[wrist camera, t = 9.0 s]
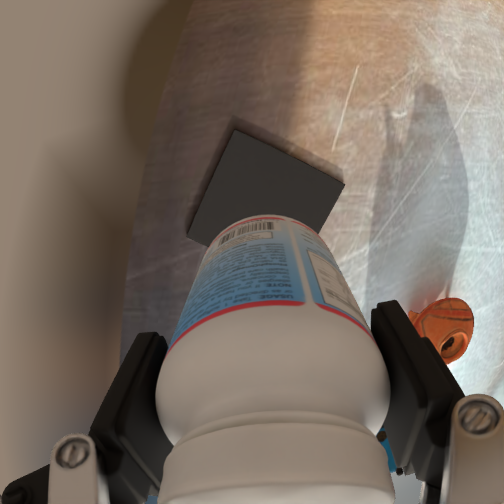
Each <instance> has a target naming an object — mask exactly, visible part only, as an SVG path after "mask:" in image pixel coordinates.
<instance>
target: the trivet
mask: <svg viewBox="0 0 504 504" xmlns="http://www.w3.org/2000/svg"><path fill="white" fill-rule="evenodd" d="M344 186H345V184H343V183H342V182H340V181H338V180H336V179H334V178H332V177H331V176H329V175H327V174H325V173H323V172H321V171H319V170H317V169H316V168H314V167H312V166H310V165H308V164H306V163H304V162H302V161H300V160H298V159H296V158H294V157H292V156H290V155H288V154H286V153H284V152H282V151H280V150H278V149H276V148H274V147H272V146H270V145H268V144H266V143H264V142H261V141H259V140H257V139H255V138H253V137H251V136H249V135H246V134H244V133H242V132H240V131H238V130H234V132H233V134H232V136H231V138H230V140H229V142H228V145H227V147H226V149H225V151H224V153H223V155H222V157H221V159H220V162H219V164H218V166H217V168H216V170H215V172H214V175H213V177H212V179H211V181H210V184H209V186H208V188H207V190H206V193H205V195H204V197H203V199H202V202H201V204H200V206H199V208H198V211H197V213H196V215H195V218H194V220H193V222H192V225H191V227H190V230H189V232H188V234H187V238H189V239H192V240H194V241H196V242H198V243H200V244H203V245H205V246H207V247H209V246H210V245H211V243H212V242H213V241H214V239H215V238H216V237H217V236H218V235H219V234H220V233H221V232H222V231H223V230H225V229H226V228H227V227H229V226H230V225H232V224H234V223H236V222H238V221H240V220H243V219H245V218H248V217H252V216H258V215H279V216H284V217H288V218H292V219H295V220H297V221H299V222H301V223H303V224H305V225H307V226H308V227H309V228H311V229H312V230H313V231H315V232H316V233H317V234H318V233H319V232H320V230H321V228H322V226H323V225H324V223H325V221H326V219H327V217H328V216H329V214H330V212H331V210H332V208H333V207H334V205H335V203H336V201H337V199H338V197H339V196H340V194H341V192H342V190H343V188H344Z"/></svg>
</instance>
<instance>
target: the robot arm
mask: <svg viewBox="0 0 504 504" xmlns="http://www.w3.org/2000/svg"><path fill="white" fill-rule="evenodd" d="M371 333H372V335H373V337H374V339H375V341H376V343H377V346H378V348H379V350H380V352H381V354H382V357H383V360H384V362H385V365H386V368H387V370H388V374H389V379H390V387H391V395H390V403H389V408H388V412H387V415H386V418H385V420H384V422H383V426H384V429H385V432H386V435H387V438H388V442H389V445H390V448H391V451H392V455H393V458H394V461H395V464H396V467H397V468H401V467H403V470H404V473H405V475H409V474H412V473H415V475H416V478H417V479H418V480H421V481H422V487H421V493H420V499H419V504H504V410H503V407H502V406H501V404H500V403H499V402H498V401H497V400H496V399H494V398H493V397H491V396H488V395H485V394H472V395H468V396H466V397H465V395H464V393H463V391H462V390H461V388H460V386H459V385H458V383H457V381H456V380H455V378H454V376H453V375H452V373H451V372H450V370H449V368H448V367H447V365H446V364H445V362H444V360H443V359H442V357H441V356H440V354H439V352H438V351H437V349H436V348H435V346H434V345H433V343H432V342H431V340H430V339H429V338H428V337H426V336H425V337H421V336H420V335H419V333H418V332H417V330H416V329H415V327H414V326H413V324H412V322H411V321H410V319H409V318H408V316H407V315H406V313H405V312H404V310H403V309H402V307H401V306H400V304H399V303H398V301H397V300H391V301H386V302H381V303H378V304H377V308H375V309H372V311H371ZM167 350H168V346H167V343H166V340H165V338H164V337H163V336H159V334H158V333H157V332H145V333H139V334H138V335H137V337H136V338H135V340H134V342H133V344H132V346H131V348H130V350H129V352H128V353H127V355H126V357H125V359H124V361H123V363H122V365H121V367H120V369H119V371H118V373H117V375H116V377H115V378H114V381H113V383H112V385H111V386H110V389H109V390H108V393H107V395H106V396H105V399H104V400H103V402H102V404H101V406H100V409H99V411H98V413H97V415H96V417H95V419H94V421H93V423H92V425H91V427H90V432H89V434H88V435H86V434H82V433H73V434H70V435H67V436H65V437H63V438H62V439H60V440H59V441H58V442H57V443H56V444H55V446H54V448H53V449H52V453H51V460H50V464H48V465H46V466H44V467H42V468H40V469H38V470H36V471H34V472H32V473H30V474H28V475H26V476H23V477H21V478H19V479H17V480H15V481H13V482H11V483H10V484H9V485H8V486H7V487H6V488H5V490H4V492H3V494H2V496H1V495H0V504H145V502H146V501H147V498H148V495H152V496H158V495H159V491H160V486H161V482H162V478H163V467H164V463H165V460H166V458H167V456H168V455H169V454H170V453H171V452H172V449H173V447H174V445H173V444H172V443H171V442H170V440H169V439H168V437H167V436H166V434H165V432H164V430H163V428H162V426H161V423H160V421H159V417H158V414H157V410H156V399H155V393H156V386H157V381H158V377H159V373H160V370H161V366H162V364H163V361H164V359H165V356H166V353H167Z"/></svg>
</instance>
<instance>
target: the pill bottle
mask: <svg viewBox="0 0 504 504" xmlns="http://www.w3.org/2000/svg"><path fill="white" fill-rule="evenodd" d="M390 395H391V387H390V379H389V374H388V370H387V368H386V365H385V362H384V360H383V357H382V354H381V352H380V350H379V348H378V346H377V343H376V341H375V339H374V337H373V335H372V333H371V331H370V329H369V327H368V325H367V323H366V321H365V319H364V316H363V314H362V312H361V310H360V308H359V306H358V304H357V302H356V300H355V298H354V296H353V294H352V292H351V290H350V288H349V286H348V284H347V282H346V281H345V279H344V277H343V275H342V273H341V271H340V269H339V267H338V265H337V263H336V261H335V259H334V257H333V255H332V253H331V252H330V250H329V248H328V247H327V245H326V244H325V242H324V241H323V240H322V238H321V237H320V236H319V235H318V234H317V233H316V232H315V231H313V230H312V229H311V228H309V227H308V226H307V225H305V224H303V223H301V222H299V221H297V220H295V219H292V218H288V217H284V216H279V215H258V216H252V217H248V218H245V219H243V220H240V221H238V222H236V223H234V224H232V225H230V226H229V227H227V228H226V229H225V230H223V231H222V232H221V233H220V234H219V235H218V236H217V237H216V238H215V239H214V241H213V242H212V243H211V245H210V246H209V248H208V250H207V251H206V253H205V255H204V258H203V260H202V263H201V265H200V268H199V270H198V273H197V275H196V278H195V280H194V283H193V285H192V288H191V291H190V293H189V295H188V298H187V301H186V303H185V306H184V308H183V311H182V314H181V316H180V319H179V321H178V324H177V326H176V329H175V332H174V335H173V337H172V340H171V342H170V345H169V348H168V350H167V353H166V356H165V359H164V361H163V364H162V366H161V370H160V373H159V377H158V381H157V386H156V393H155V399H156V410H157V414H158V417H159V421H160V423H161V426H162V428H163V430H164V432H165V434H166V436H167V437H168V439H169V440H170V442H171V443H172V444H173V445H174V447H173V449H172V452H171V453H170V454H169V455H168V456H167V458H166V460H165V463H164V467H163V478H162V482H161V486H160V491H159V495H158V501H157V504H394V502H395V490H394V486H393V482H392V479H391V474H390V470H389V467H388V456H387V453H386V450H385V448H384V447H383V446H382V445H381V443H380V442H378V440H377V437H376V435H377V433H378V431H379V430H380V428H381V426H382V424H383V422H384V420H385V418H386V415H387V412H388V408H389V403H390Z"/></svg>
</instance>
